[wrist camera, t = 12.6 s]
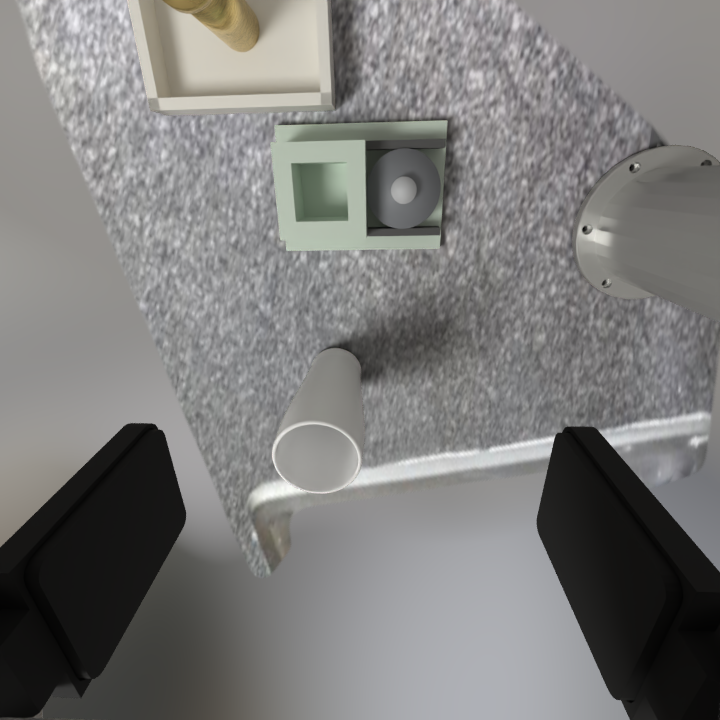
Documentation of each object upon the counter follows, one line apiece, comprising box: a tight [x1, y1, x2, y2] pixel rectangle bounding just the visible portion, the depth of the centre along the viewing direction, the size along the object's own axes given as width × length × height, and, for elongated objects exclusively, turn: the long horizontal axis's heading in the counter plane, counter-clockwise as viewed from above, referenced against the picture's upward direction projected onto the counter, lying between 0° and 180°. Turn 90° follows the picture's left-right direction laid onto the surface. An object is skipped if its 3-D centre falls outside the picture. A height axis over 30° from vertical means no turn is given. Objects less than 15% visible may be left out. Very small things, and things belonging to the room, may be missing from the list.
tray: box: [127, 0, 336, 116], centre depth 29 cm, size 14×11×3 cm
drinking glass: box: [272, 348, 365, 494], centre depth 36 cm, size 7×7×15 cm
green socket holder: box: [270, 120, 448, 251], centre depth 33 cm, size 14×10×5 cm
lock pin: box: [163, 0, 260, 52], centre depth 25 cm, size 4×4×10 cm
